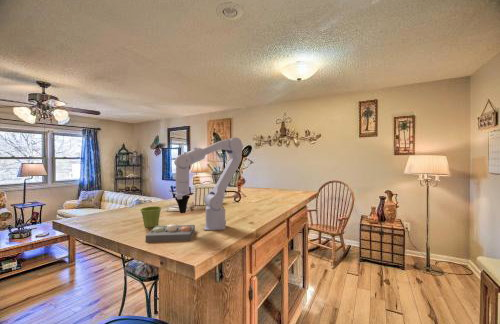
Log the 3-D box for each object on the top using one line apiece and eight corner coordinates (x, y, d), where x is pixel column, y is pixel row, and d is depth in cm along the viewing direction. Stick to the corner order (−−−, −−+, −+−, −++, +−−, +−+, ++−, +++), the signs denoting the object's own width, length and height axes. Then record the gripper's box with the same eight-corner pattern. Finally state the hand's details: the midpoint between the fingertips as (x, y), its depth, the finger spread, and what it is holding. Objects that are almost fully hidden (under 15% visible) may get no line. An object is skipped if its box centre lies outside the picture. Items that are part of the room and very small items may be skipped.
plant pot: (154, 230, 103) (153, 211, 103) (135, 228, 105) (135, 210, 105) (165, 224, 112) (165, 206, 112) (148, 223, 114) (148, 206, 114)
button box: (194, 230, 101) (194, 224, 101) (190, 240, 89) (189, 233, 89) (155, 232, 100) (155, 225, 100) (145, 242, 88) (145, 234, 88)
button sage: (164, 233, 96) (164, 226, 96) (161, 236, 92) (161, 229, 92) (155, 233, 96) (155, 226, 96) (151, 237, 92) (151, 229, 92)
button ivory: (177, 230, 97) (177, 223, 97) (175, 233, 93) (175, 226, 93) (168, 231, 97) (168, 224, 96) (165, 234, 93) (165, 226, 92)
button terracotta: (191, 232, 97) (190, 225, 97) (189, 235, 93) (189, 228, 93) (181, 233, 97) (181, 226, 97) (179, 236, 93) (179, 228, 93)
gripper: (176, 180, 106) (177, 209, 106) (169, 184, 92) (169, 217, 92) (192, 180, 107) (192, 208, 107) (186, 183, 92) (187, 216, 93)
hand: (182, 212), depth 100 cm, fingers closed
